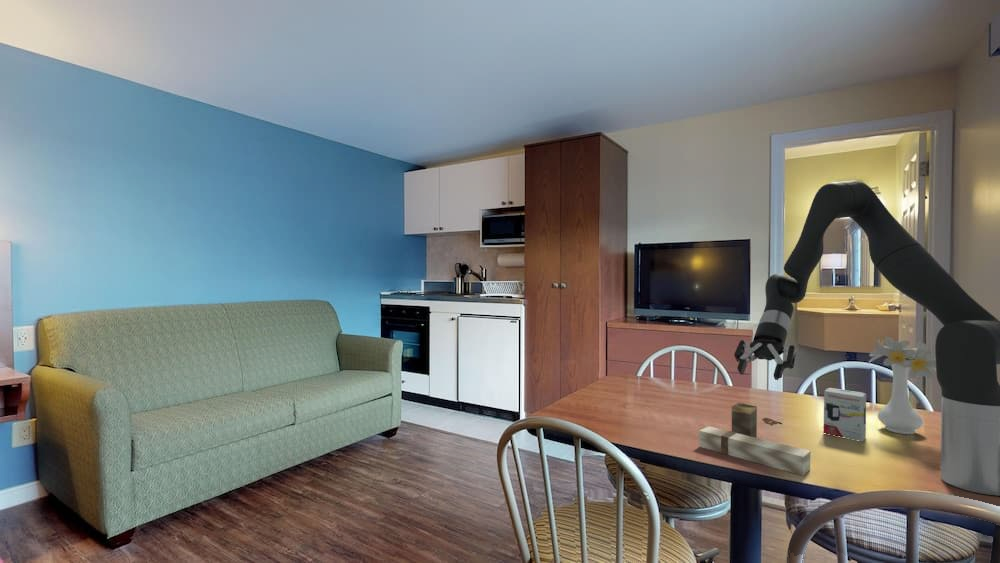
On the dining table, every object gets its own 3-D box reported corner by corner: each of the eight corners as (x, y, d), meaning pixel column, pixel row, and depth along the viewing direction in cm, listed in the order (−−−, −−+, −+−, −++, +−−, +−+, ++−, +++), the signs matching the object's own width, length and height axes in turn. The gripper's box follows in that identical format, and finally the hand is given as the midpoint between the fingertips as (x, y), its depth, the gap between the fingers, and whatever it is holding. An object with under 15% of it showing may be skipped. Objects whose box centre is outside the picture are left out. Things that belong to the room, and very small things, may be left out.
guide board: (810, 469, 98) (810, 450, 98) (803, 476, 95) (803, 456, 95) (708, 441, 115) (708, 425, 115) (699, 446, 111) (699, 430, 111)
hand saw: (711, 404, 151) (711, 402, 151) (722, 403, 152) (722, 401, 152) (771, 427, 128) (771, 424, 128) (784, 425, 129) (784, 423, 129)
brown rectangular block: (756, 441, 115) (756, 406, 115) (750, 445, 112) (750, 409, 112) (738, 437, 118) (738, 402, 118) (731, 441, 115) (731, 406, 115)
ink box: (822, 434, 121) (822, 390, 121) (826, 429, 124) (826, 387, 124) (863, 442, 115) (863, 396, 115) (866, 437, 118) (866, 392, 118)
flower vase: (904, 443, 114) (905, 344, 114) (854, 420, 133) (855, 335, 132) (960, 445, 113) (961, 345, 113) (902, 421, 131) (902, 335, 131)
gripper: (742, 319, 132) (726, 363, 125) (798, 322, 122) (785, 371, 114) (748, 335, 136) (733, 379, 128) (804, 340, 126) (791, 388, 118)
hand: (757, 375), depth 121 cm, fingers open, 8 cm apart
